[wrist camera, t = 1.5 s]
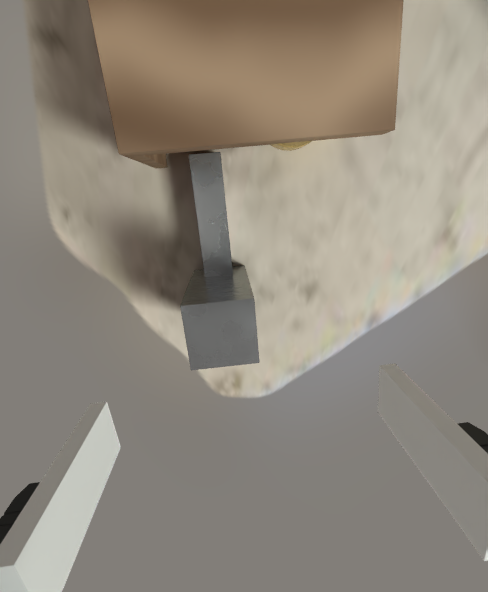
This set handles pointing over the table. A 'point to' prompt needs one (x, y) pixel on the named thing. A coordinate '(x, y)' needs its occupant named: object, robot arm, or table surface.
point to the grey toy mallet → (217, 281)
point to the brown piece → (246, 71)
